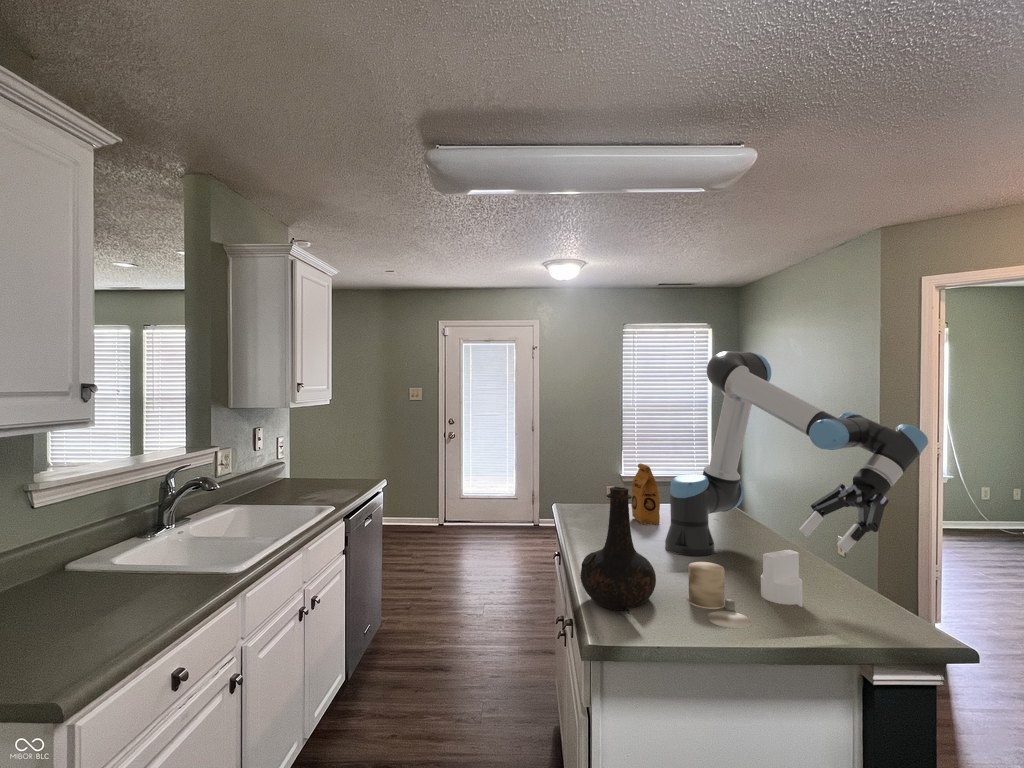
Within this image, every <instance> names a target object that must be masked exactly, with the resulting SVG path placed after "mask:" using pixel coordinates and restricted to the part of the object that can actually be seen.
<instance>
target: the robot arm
mask: <svg viewBox="0 0 1024 768" xmlns="http://www.w3.org/2000/svg"><path fill="white" fill-rule="evenodd" d="M706 375H707V376H706V377H707V379H708V380H709V382H710V383H711V384H712V385H713V386H714V387H716V388H717V389H719V390H720V391H721V393H722V394H723V396H724V397H723V401H722V406H721V411H720V414H719V415H720V416H719V419H718V423H717V424H718V425H717V429H716V434H715V438H714V439H715V440H714V444H713V448H712V451H711V456H710V457H711V458H710V460H709V461H710V462H709V464H708V465H706V466H705V467H704V468H703V472H702V474H699V473H697V474H696V473H690V474H681V475H677V476H675V477H674V478H672V479H671V482H670V488H669V495H670V498H669V499H670V500H669V501H670V503H669V505H670V526H669V529H668V530H667V531H668V532H667V534H666V537H665V542H664V543H665V544H664V547H665V549H666V550H667V551H669V552H671V553H674V554H678V555H684V556H693V557H694V556H695V557H700V556H709V555H712V554H714V553H715V547H716V546H715V542H714V539H713V536H712V533H711V530H710V527H709V515H710V514H715V513H723V512H724V513H725V512H728V511H731V510H734V509H736V508H738V506H740V505H741V503H742V501H743V499H744V495H745V489H744V487H743V486H742V485H743V483H742V482H741V474H739V472H738V467H739V463H740V457H741V453H742V449H743V446H744V445H743V444H744V440H745V436H746V432H747V427H748V424H749V419H750V414H751V411H752V410H751V409H752V405H753V406H755V407H756V408H759V409H760V410H762V411H764V412H765V413H767V414H769V415H770V416H773V417H774V418H776V419H778V421H782V422H783V423H785V424H787V425H789V427H792V428H794V429H795V430H796V431H798V432H801V433H802V434H804V435H806V436H808V437H809V440H810V441H811V443H812V444H813V445H814V446H815V447H816V448H819V449H821V450H829V451H836V450H840V449H842V450H843V449H847V448H857V447H859V448H862V449H863V450H866V451H868V452H870V453H872V455H871V456H870V458H869V459H868V460H866V461H865V463H864V464H863V465H862V468H860V469H859V470H858V471H857V472H856V473H855V475H853V477H852V484H851V485H850V486H849V487H848V486H846V485H845V484H844V483H839V485H837V487H836V488H835V489H834V490H832V491H830V492H829V493H827V494H825V495H824V496H822V497H821V498H819V499H818V500H816V501H814V502H813V503H811V505H810V508H811V510H813V511H812V512H811V514H810V515H809V516H808V517H807V518H806V520H805V521H804V523H803V524H801V526H800V527H799V529H798V530H799V531H800V532H801V533H802V535H804V536H805V537H807V538H809V536H810V535H811V534H812V533H813V531H815V529H816V528H817V527H818V526H819V525H820V524H821V522H822V521H823V520H824V519H825V518H824V517H825V516H826V515H829V514H831V513H833V512H836V511H838V510H840V509H843V508H849V507H853V508H857V509H858V512H857V513H858V517H857V518H858V521H856V523H854V524H852V526H851V527H850V528H849V529H848V530H847V531H846V532H845V534H844V535H843V536H842V537H841V538H840V539H839V541H838V542H837V543H836V545H837V546H838V547H839V548H840V549H841V550H842V551H843V552H844V553H846V554H847V553H848V552H849V551H850V550H851V548H853V546H855V544H856V543H857V542H859V541H860V540H861V539H862V538H863V537H864V535H865V534H866V533H869V532H873V533H877V532H879V529H880V526H881V521H882V518H883V515H884V511H885V507H886V506H887V505H888V504H889V502H890V501H889V499H888V498H887V497H886V496H885V495H887V493H889V491H890V490H891V488H892V487H893V486H894V485H895V484H896V483H897V481H898V480H899V479H900V478H901V477H902V476H903V474H905V472H906V471H907V470H908V469H909V468H910V467H911V466H912V464H913V463H914V462H916V460H917V458H919V457H920V456H921V455H922V453H923V452H924V450H925V448H927V446H928V444H929V440H928V437H927V435H926V434H925V433H924V431H922V430H921V429H920V428H918V427H916V426H914V425H911V424H905V423H901V424H899V425H897V426H896V427H895V428H892V427H888V426H885V425H883V424H882V423H878V422H876V421H873V420H872V419H869V418H866V417H864V416H863V415H861V414H858V413H857V414H856V413H853V412H851V411H845V412H842V414H840V415H839V416H838V417H836V416H835V415H832V414H830V413H828V412H826V411H825V410H822V409H821V408H819V407H817V406H815V405H813V404H811V403H810V402H807V401H806V400H804V399H802V398H799V397H798V396H796V395H794V394H792V393H790V392H788V391H786V390H785V389H783V388H781V387H779V386H777V385H775V384H773V383H772V382H770V381H771V378H772V366H771V365H770V363H769V362H768V360H767V358H766V357H764V356H763V355H762V354H759V353H757V352H755V353H754V352H751V351H750V352H748V351H727V350H726V351H720V352H718V353H717V354H715V355H713V356H712V357H711V358H710V360H709V362H708V363H707V366H706Z"/></svg>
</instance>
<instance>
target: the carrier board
mask: <svg viewBox="0 0 1024 768" xmlns="http://www.w3.org/2000/svg"><path fill="white" fill-rule="evenodd" d="M686 601H687V602H688V603H689V604H690V605H692V606H694V607H698V608H703V609H711V610H714V611H711V612H709V613H708V614H707V620H708V621H709V622H711V623H712V624H714V625H717V626H720V627H724V628H728V629H746V628H748V627H750V626H752V624H753V621H752V620H751V619H750V618H749V617H747V615H744V614H741V613H738V612H735V607H736V605H735V600H734V599H730V598H725V604H724V605H723V606H721V607H717V608H708V607H701V606H698V605H695V604H693V603H691V602H690V601H689V595H688V596H687V597H686ZM723 608H724V609H725V610H717V609H723ZM715 610H716V611H715Z"/></svg>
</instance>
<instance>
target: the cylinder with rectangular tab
mask: <svg viewBox="0 0 1024 768" xmlns="http://www.w3.org/2000/svg"><path fill="white" fill-rule="evenodd" d="M799 557H800V553H799V552H798V551H796V550H795V551H794V550H792V549H791V550H790V549H785V550H778V551H771V552H765V553H763V554H762V567H763V568H762V571H763V572H762V573H761V575H760V596H761V597H762V598H763V599H764V600H767V601H769V602H771V603H775V604H779V605H786V606H787V605H788V606H790V605H793V606H794V605H797V606H799V607H801V608H803V579H802V578H800V565H799V564H800V558H799Z"/></svg>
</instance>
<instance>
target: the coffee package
mask: <svg viewBox="0 0 1024 768" xmlns="http://www.w3.org/2000/svg"><path fill="white" fill-rule="evenodd" d="M637 468H638V471H637V472H636V474H635V475H634V478H633V480H632V481H631V496H632V498H631V502H630V505H631V510H632V511H631V514H632V517H633V518H634V519H635V520H637V521H638V522H639V523H640V524H641V525H648V524H649V525H660V524H659V523H660V521H661V520H660V519H661V517H660V507H661V503H660V494H659V489H658V485H657V481H656V479H655V477H654V474H653V471H652V469H651V467H650V466H649V465H647V464H644V463H642V462H641V463H638V464H637Z"/></svg>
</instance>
